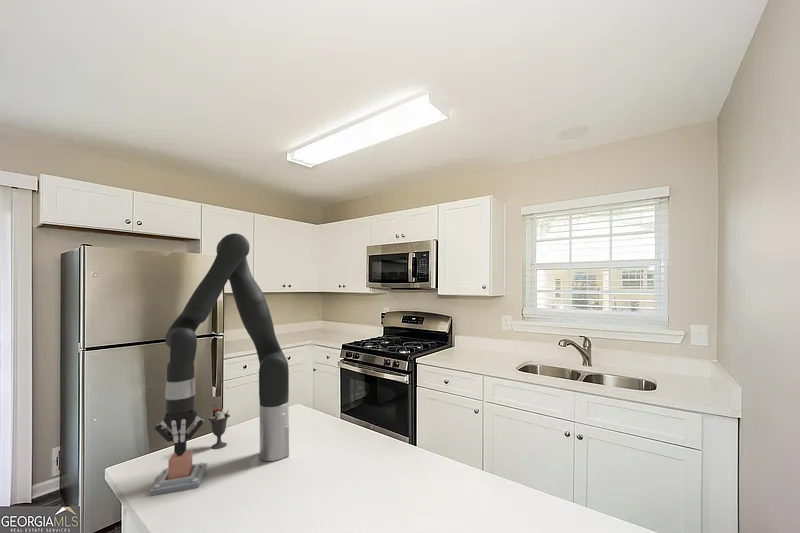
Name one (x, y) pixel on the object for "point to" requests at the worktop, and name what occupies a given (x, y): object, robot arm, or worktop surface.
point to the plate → (179, 480)
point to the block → (180, 465)
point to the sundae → (218, 426)
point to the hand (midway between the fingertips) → (180, 454)
